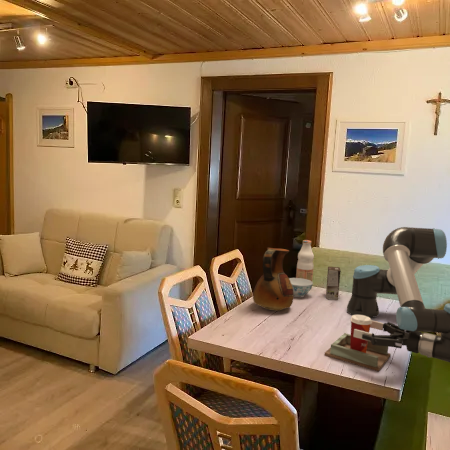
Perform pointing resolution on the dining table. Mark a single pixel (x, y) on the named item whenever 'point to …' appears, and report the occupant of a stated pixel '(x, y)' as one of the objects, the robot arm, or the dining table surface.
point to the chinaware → (300, 286)
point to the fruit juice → (305, 262)
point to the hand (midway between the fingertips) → (359, 327)
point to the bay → (359, 353)
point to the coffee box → (333, 283)
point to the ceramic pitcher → (273, 282)
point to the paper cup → (364, 325)
